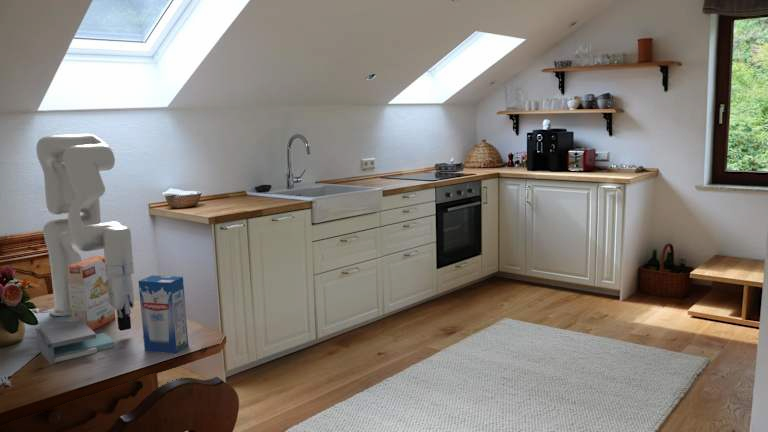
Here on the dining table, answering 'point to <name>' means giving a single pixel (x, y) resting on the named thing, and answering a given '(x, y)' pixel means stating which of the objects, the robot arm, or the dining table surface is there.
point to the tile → (85, 345)
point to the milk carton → (163, 314)
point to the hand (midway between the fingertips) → (124, 329)
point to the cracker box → (89, 292)
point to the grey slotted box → (63, 339)
